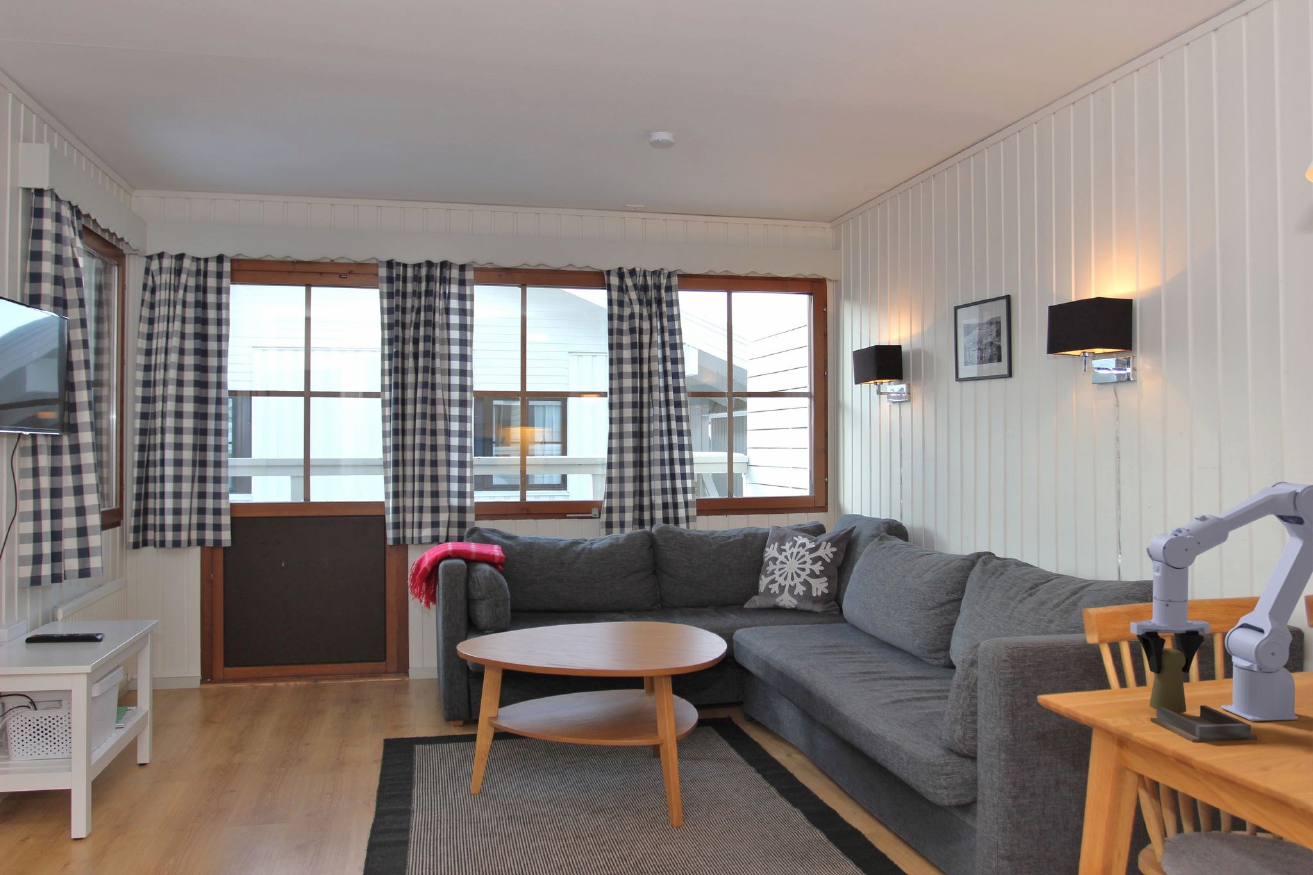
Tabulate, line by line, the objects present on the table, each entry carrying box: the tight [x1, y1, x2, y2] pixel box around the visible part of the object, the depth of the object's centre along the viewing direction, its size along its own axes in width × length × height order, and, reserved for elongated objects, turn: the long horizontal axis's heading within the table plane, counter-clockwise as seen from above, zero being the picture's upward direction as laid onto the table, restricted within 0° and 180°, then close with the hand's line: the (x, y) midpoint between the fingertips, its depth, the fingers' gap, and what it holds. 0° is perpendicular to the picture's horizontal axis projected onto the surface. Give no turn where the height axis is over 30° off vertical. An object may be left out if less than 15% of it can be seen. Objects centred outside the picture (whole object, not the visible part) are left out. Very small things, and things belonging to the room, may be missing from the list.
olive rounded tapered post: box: [1149, 647, 1187, 714], centre depth 170 cm, size 6×6×11 cm
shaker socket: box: [1149, 704, 1258, 743], centre depth 161 cm, size 12×11×2 cm
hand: (1169, 671), depth 170 cm, fingers closed on olive rounded tapered post, 5 cm apart
